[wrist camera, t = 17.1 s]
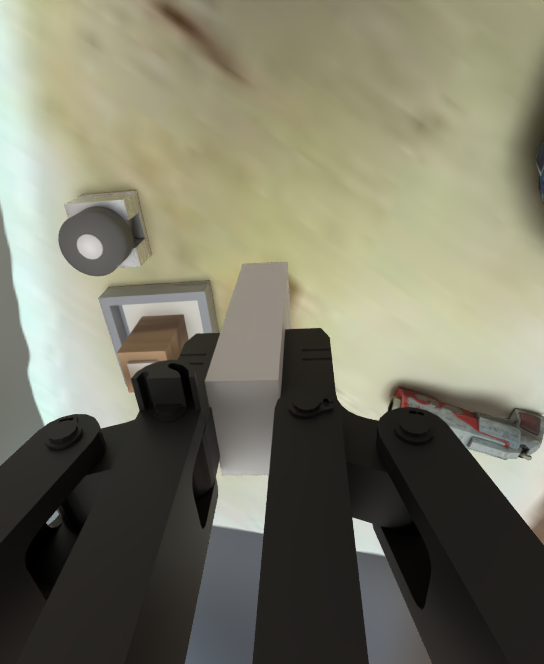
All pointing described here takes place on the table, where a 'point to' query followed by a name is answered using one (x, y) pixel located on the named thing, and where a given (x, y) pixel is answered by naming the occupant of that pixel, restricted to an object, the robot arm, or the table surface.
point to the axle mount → (128, 210)
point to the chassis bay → (158, 307)
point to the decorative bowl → (540, 168)
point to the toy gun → (481, 426)
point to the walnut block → (152, 343)
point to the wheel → (95, 241)
